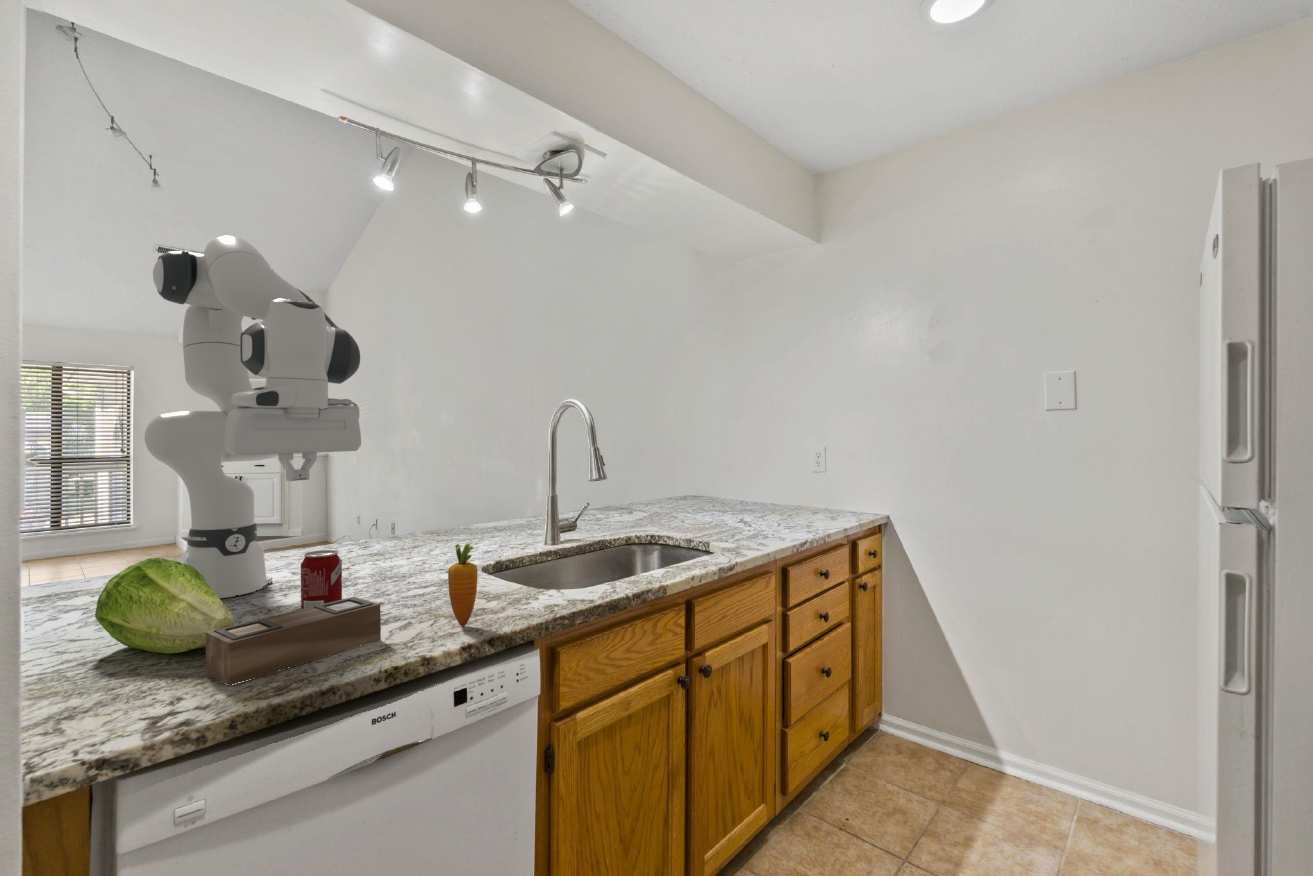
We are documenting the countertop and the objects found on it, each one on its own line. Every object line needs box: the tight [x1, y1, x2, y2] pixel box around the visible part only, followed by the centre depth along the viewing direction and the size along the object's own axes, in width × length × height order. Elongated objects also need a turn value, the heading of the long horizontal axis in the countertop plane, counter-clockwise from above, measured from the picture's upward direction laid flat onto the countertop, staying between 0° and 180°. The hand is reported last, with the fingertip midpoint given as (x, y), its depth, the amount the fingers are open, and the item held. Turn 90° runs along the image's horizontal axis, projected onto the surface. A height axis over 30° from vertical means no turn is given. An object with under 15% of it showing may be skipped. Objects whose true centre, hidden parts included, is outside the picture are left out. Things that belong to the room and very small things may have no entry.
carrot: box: [447, 543, 478, 628], centre depth 107 cm, size 5×5×15 cm
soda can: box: [300, 549, 343, 609], centre depth 114 cm, size 7×7×12 cm
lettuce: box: [94, 557, 235, 654], centre depth 96 cm, size 14×24×15 cm
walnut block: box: [205, 596, 382, 686], centre depth 94 cm, size 8×22×6 cm, turn 146°
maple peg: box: [228, 624, 268, 636], centre depth 88 cm, size 4×4×6 cm
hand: (297, 480), depth 101 cm, fingers closed
